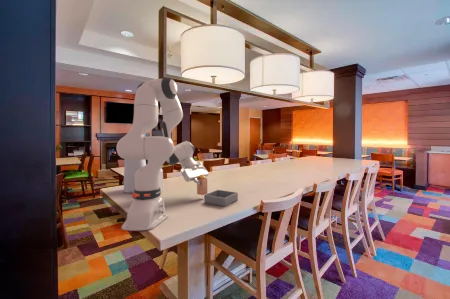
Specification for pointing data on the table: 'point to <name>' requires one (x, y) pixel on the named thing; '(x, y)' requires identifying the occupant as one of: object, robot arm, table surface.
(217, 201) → the tray
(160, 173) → the milk carton
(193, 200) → the table surface
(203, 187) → the square container
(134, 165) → the plastic bottle
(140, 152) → the robot arm
